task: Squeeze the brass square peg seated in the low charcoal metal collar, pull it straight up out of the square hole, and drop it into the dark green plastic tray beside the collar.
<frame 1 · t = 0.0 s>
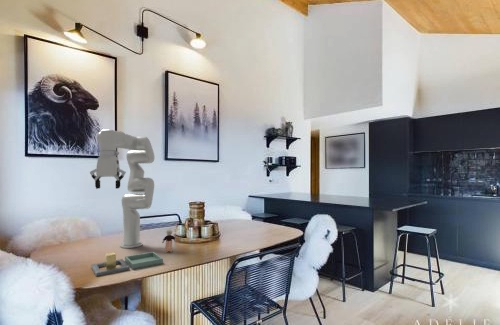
hand: (107, 188, 149), 37 cm above the table, tool pointing down, fingers open, 9 cm apart
collar block: (110, 268, 140), on the table
tray: (143, 262, 149), on the table
brass peg: (110, 261, 140), in the collar block
grandmother figurine: (169, 251, 168), on the table
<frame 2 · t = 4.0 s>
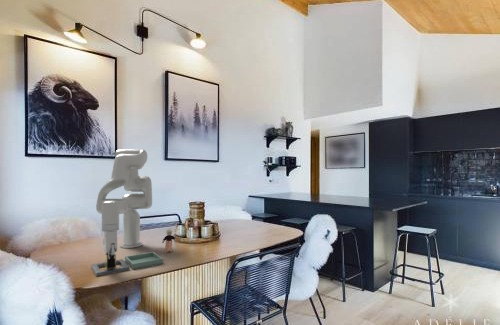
hand: (110, 265, 140), 1 cm above the table, tool pointing down, fingers closed on brass peg, 3 cm apart
brass peg: (110, 261, 140), in the collar block, touching gripper
everything else where it was.
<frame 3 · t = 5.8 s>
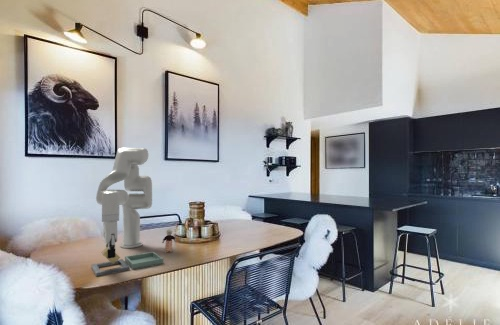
hand: (110, 256, 140), 6 cm above the table, tool pointing down, fingers closed on brass peg, 3 cm apart
brass peg: (110, 254, 140), point 6 cm above the table, tilted 40°, touching gripper
everything else where it was.
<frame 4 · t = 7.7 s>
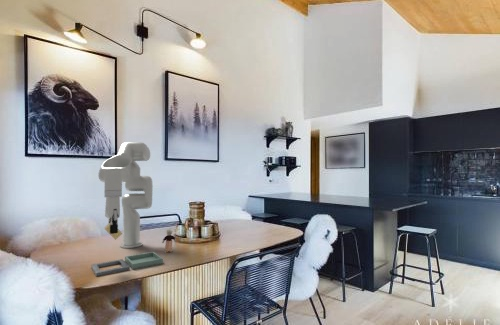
hand: (113, 231, 141), 17 cm above the table, tool pointing down, fingers closed on brass peg, 3 cm apart
brass peg: (113, 230, 141), point 18 cm above the table, tilted 39°, touching gripper
everything else where it was.
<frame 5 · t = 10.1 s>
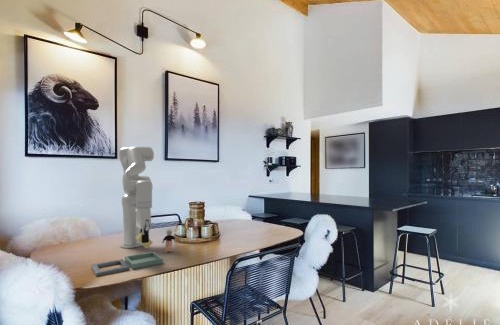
hand: (143, 241, 149), 11 cm above the table, tool pointing down, fingers closed on brass peg, 3 cm apart
brass peg: (144, 240, 149), point 11 cm above the table, tilted 39°, touching gripper
everything else where it was.
when the fingers open (5 cm above the table, at t = 11.8 s): brass peg drops 3 cm and tips over, resting on tray.
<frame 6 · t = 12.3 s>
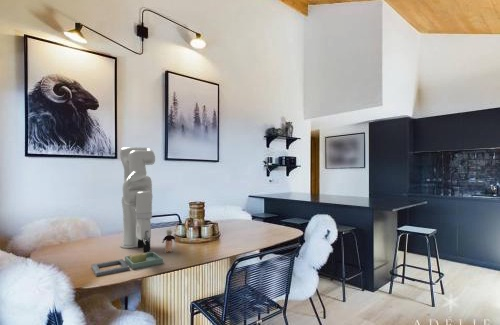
hand: (143, 250, 149), 6 cm above the table, tool pointing down, fingers open, 9 cm apart
brass peg: (138, 258, 148), in the tray, tilted 90°
everything else where it was.
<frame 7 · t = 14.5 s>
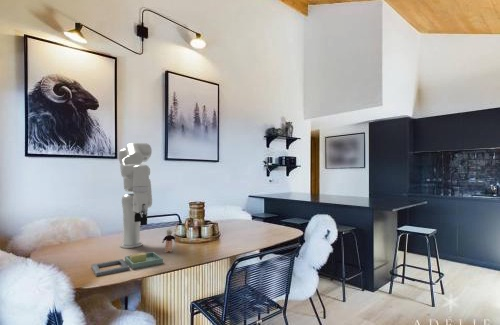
hand: (140, 223, 151), 19 cm above the table, tool pointing down, fingers open, 9 cm apart
nothing on the table moved.
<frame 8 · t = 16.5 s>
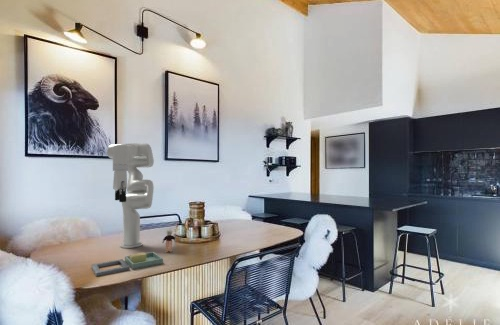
hand: (120, 201, 154), 30 cm above the table, tool pointing down, fingers open, 9 cm apart
nothing on the table moved.
at the end: brass peg inside the target area on the tray (0.7 cm from its centre), point 2.5 cm above the tray's base; brass peg moved 16.4 cm from its start; the gripper is holding nothing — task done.
